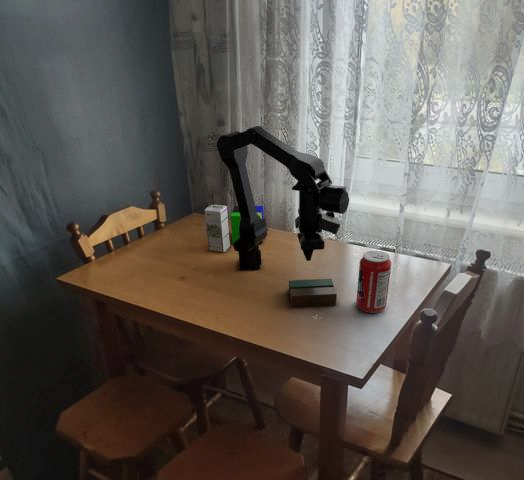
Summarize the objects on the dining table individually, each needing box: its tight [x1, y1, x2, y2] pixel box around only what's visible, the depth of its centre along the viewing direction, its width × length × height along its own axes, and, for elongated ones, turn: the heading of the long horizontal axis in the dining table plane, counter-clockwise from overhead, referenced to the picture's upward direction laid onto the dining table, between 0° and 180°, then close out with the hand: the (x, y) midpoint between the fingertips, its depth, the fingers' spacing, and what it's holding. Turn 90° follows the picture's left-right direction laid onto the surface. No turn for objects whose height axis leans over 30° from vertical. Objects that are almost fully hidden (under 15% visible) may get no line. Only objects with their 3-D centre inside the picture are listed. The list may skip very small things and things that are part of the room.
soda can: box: [355, 250, 392, 314], centre depth 127 cm, size 8×8×15 cm
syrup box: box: [204, 204, 231, 253], centre depth 162 cm, size 6×6×14 cm
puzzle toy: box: [230, 205, 265, 245], centre depth 170 cm, size 10×10×10 cm
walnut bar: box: [289, 286, 337, 308], centre depth 133 cm, size 12×4×4 cm, turn 92°
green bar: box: [288, 278, 335, 295], centre depth 137 cm, size 12×4×4 cm, turn 92°
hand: (308, 260), depth 141 cm, fingers closed
